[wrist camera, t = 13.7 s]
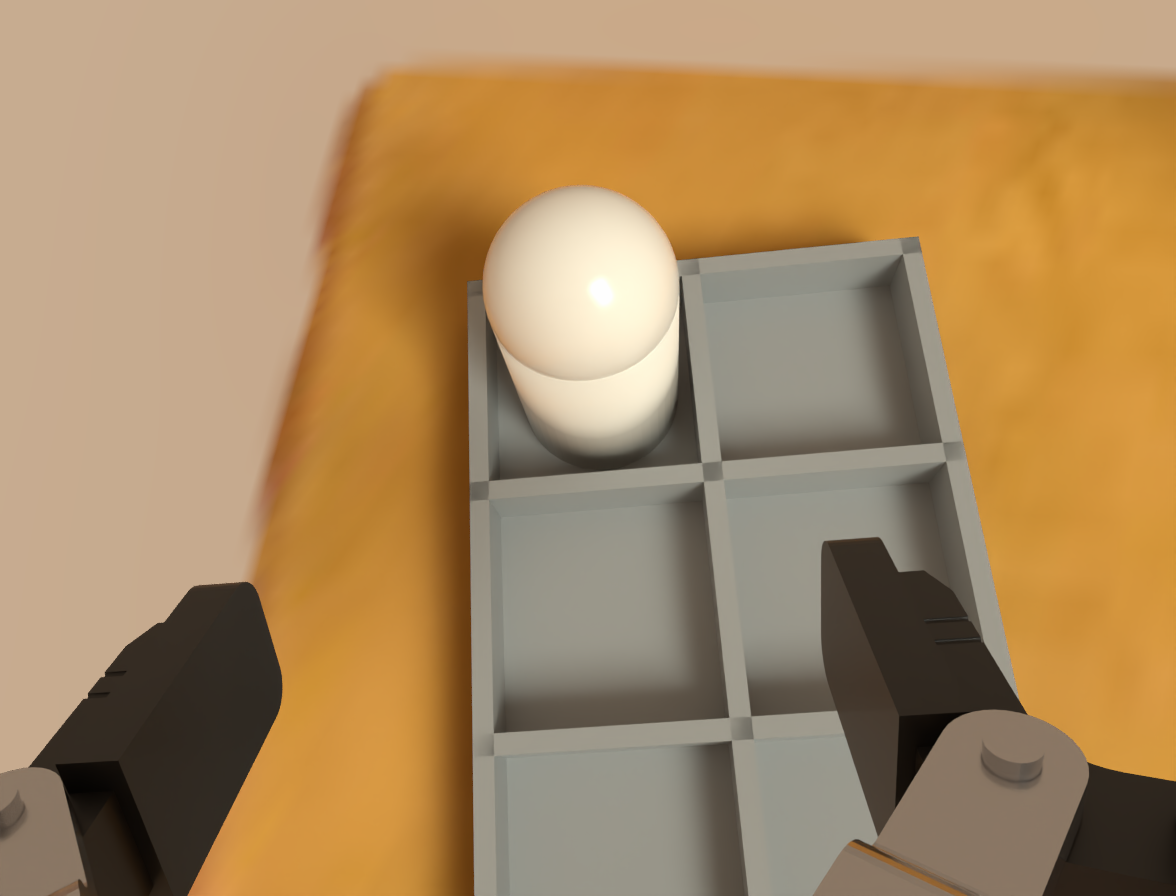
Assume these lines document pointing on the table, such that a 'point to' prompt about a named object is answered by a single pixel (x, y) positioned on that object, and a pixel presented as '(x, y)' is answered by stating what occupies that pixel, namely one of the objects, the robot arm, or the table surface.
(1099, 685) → the table surface
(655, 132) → the table surface
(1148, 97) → the table surface
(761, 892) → the grey compartment tray
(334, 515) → the table surface
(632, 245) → the cream rounded cylinder
